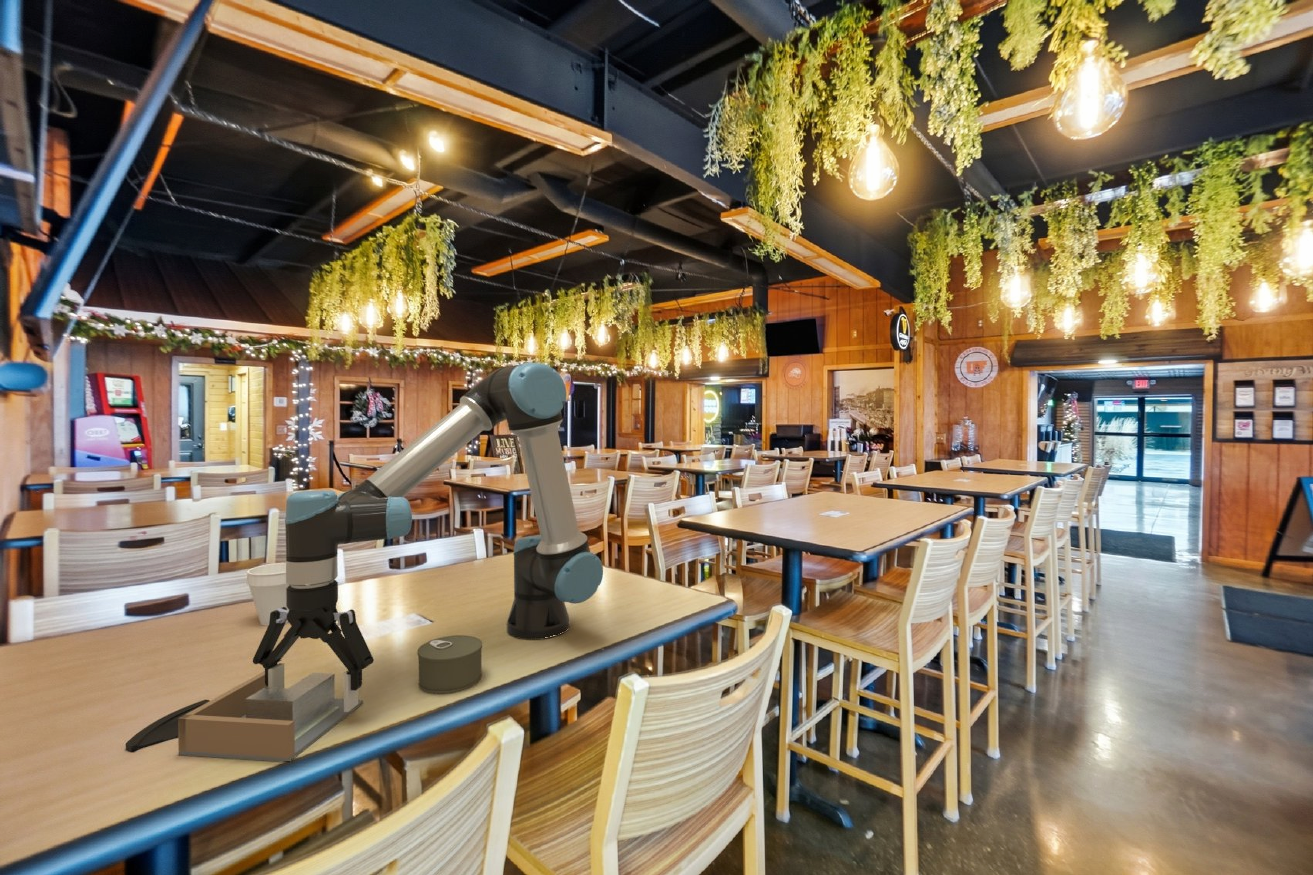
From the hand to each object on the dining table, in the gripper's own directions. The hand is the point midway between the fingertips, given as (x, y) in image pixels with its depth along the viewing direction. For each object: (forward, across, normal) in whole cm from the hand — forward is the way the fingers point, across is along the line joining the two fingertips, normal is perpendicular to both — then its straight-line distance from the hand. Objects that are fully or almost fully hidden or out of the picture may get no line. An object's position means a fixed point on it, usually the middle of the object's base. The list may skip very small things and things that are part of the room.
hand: (313, 706), depth 97 cm
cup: (+2, +43, -44) cm, 62 cm away
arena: (+2, +4, +3) cm, 5 cm away
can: (+2, -16, -16) cm, 23 cm away
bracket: (+1, +2, +2) cm, 3 cm away
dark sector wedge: (+3, +21, +4) cm, 21 cm away
